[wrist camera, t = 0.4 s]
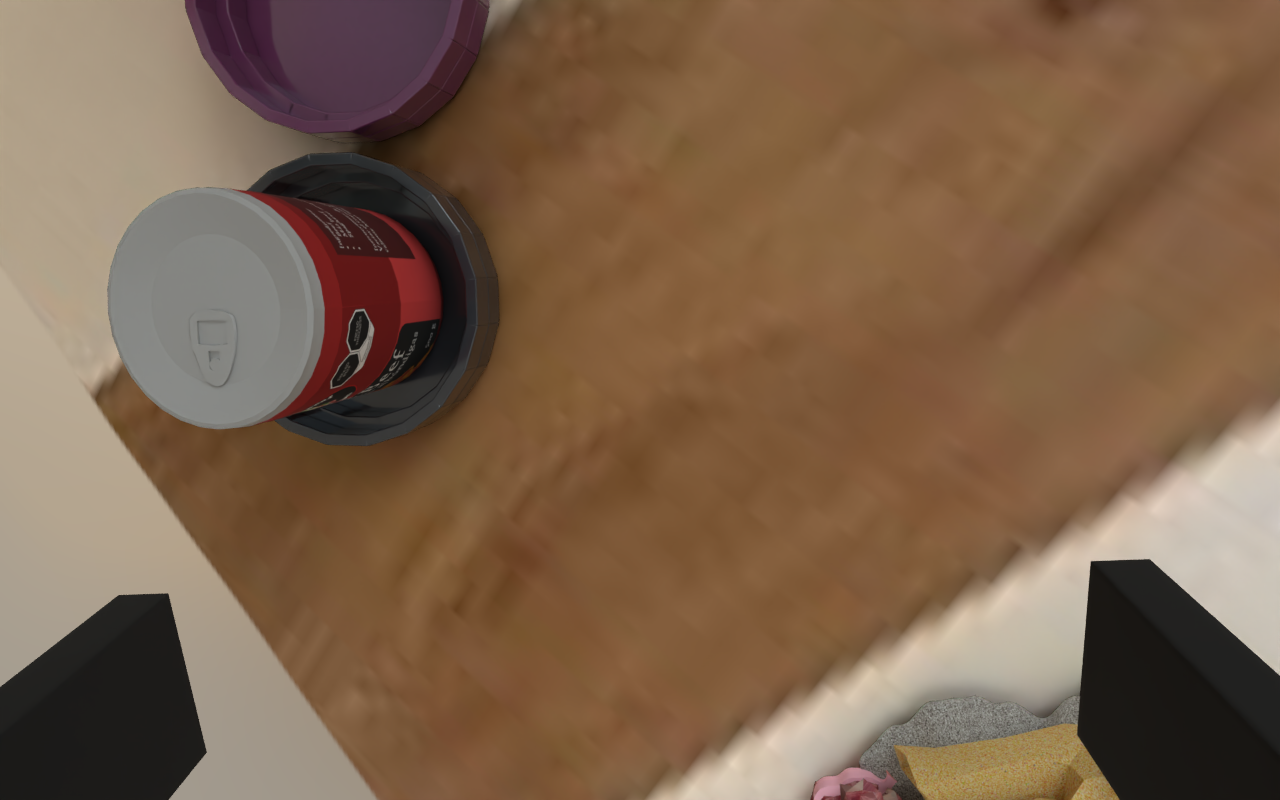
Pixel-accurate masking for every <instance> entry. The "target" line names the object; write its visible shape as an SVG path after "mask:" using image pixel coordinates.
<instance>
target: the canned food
mask: <svg viewBox="0 0 1280 800" xmlns="http://www.w3.org/2000/svg"><path fill="white" fill-rule="evenodd" d="M107 290H108V315H109V320H110V325H111V330H112V336H113V338H114V341H115V344H116V347H117V349H118V352H119V355H120V358H121V359H122V361H123V363H124V365H125V367H126V368H127V370H128V372H129V374H130V375H131V377H132V379H133V380H134V381H135V382H136V384H137V385H138V386H139V387H140V389H141V390H142V391H143V392H144V394H145V395H146V396H147V397H149V398H150V399H151V400H152V401H153V402H154V403H155V404H156V405H158V406H159V407H160V408H161V409H162V410H164V411H166V412H167V413H169V414H171V415H172V416H174V417H176V418H177V419H179V420H181V421H184V422H187V423H190V424H193V425H196V426H198V427H205V428H213V429H227V428H238V427H248V426H253V425H256V424H260V423H263V422H269V421H273V420H276V419H280V418H283V417H287V416H290V415H294V414H297V413H301V412H304V411H308V410H311V409H315V408H318V407H322V406H325V405H329V404H332V403H336V402H339V401H343V400H346V399H350V398H353V397H357V396H360V395H364V394H367V393H371V392H374V391H378V390H381V389H384V388H387V387H390V386H393V385H396V384H397V383H399V382H401V381H402V380H404V379H405V378H407V377H409V376H410V375H411V374H412V373H413V372H414V371H415V370H416V369H417V368H418V367H419V366H420V365H421V364H422V362H423V361H424V360H425V358H426V357H427V355H428V354H429V352H430V351H431V349H432V348H433V346H434V344H435V341H436V339H437V337H438V334H439V332H440V327H441V322H442V318H443V293H442V286H441V281H440V278H439V275H438V272H437V269H436V266H435V264H434V262H433V261H432V259H431V257H430V255H429V253H428V252H427V250H426V249H425V248H424V247H423V245H422V244H421V243H420V242H419V240H418V239H417V238H416V237H415V236H414V235H413V234H412V233H411V232H410V231H408V230H407V229H406V228H405V227H404V226H403V225H401V224H400V223H399V222H397V221H395V220H393V219H391V218H390V217H388V216H386V215H384V214H380V213H377V212H374V211H370V210H365V209H359V208H353V207H346V206H340V205H334V204H328V203H321V202H315V201H309V200H303V199H296V198H290V197H284V196H278V195H272V194H265V193H259V192H253V191H243V190H235V189H228V188H214V187H206V188H191V189H185V190H179V191H175V192H173V193H171V194H168V195H166V196H164V197H161V198H159V199H157V200H156V201H155V202H153V203H152V204H151V205H149V206H148V207H147V208H145V209H144V210H143V211H141V213H140V214H139V215H138V216H137V217H136V218H135V220H134V221H133V222H132V223H131V224H130V225H129V226H128V228H127V230H126V232H125V233H124V235H123V237H122V239H121V241H120V242H119V244H118V246H117V249H116V252H115V255H114V258H113V261H112V264H111V268H110V275H109V282H108V289H107Z"/></svg>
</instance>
